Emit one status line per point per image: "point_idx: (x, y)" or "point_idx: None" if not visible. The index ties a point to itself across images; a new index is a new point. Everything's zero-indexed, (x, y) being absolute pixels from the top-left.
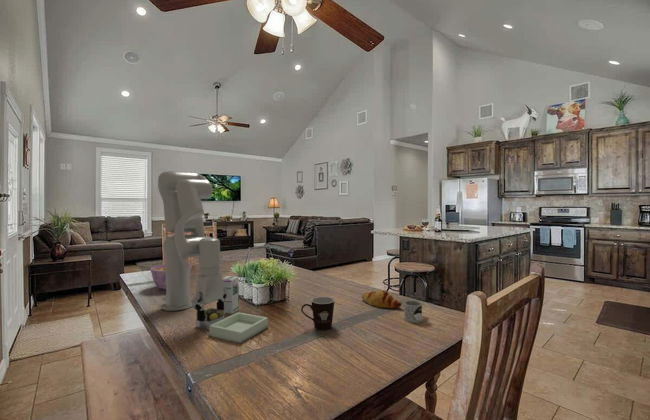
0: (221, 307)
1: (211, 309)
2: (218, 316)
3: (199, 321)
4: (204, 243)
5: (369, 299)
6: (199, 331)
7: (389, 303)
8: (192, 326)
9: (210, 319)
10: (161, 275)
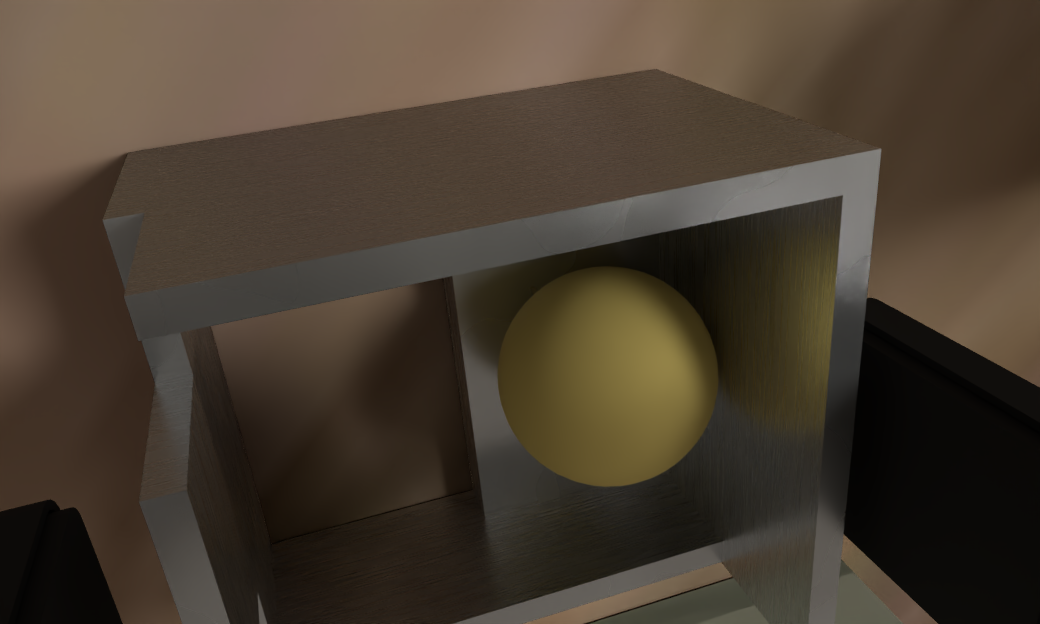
0: (913, 568)
1: (811, 217)
2: None
3: (156, 357)
4: None
5: None
6: (37, 475)
7: None
8: (77, 18)
9: (499, 363)
10: None
